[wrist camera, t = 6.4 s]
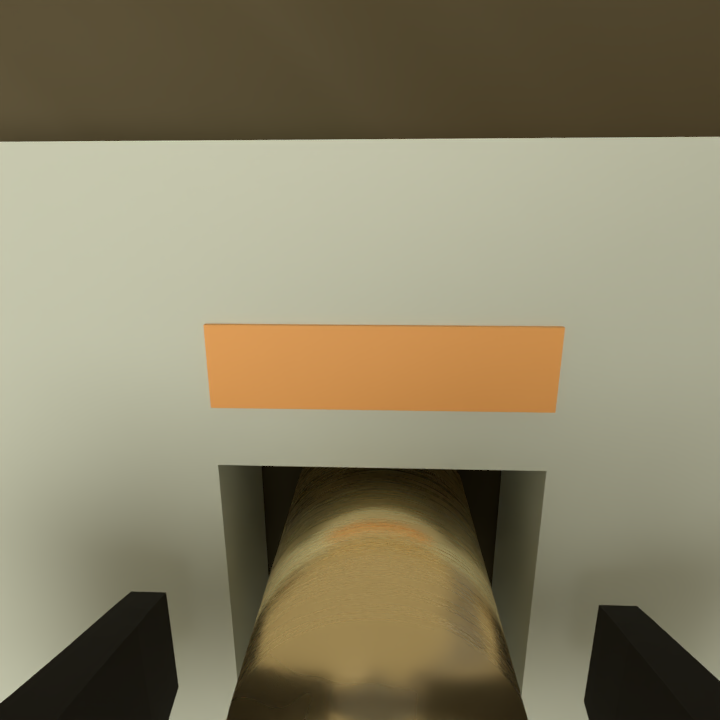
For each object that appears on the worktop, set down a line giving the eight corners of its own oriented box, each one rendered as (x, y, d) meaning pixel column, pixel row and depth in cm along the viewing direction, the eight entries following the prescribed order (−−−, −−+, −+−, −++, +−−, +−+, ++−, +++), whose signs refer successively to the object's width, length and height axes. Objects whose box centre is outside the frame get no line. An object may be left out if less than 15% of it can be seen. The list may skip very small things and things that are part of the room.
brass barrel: (473, 429, 12) (555, 639, 6) (454, 576, 13) (509, 866, 7) (298, 417, 12) (221, 613, 6) (294, 565, 13) (227, 841, 8)
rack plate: (805, 152, 10) (981, 134, 7) (665, 769, 15) (736, 913, 12) (-13, 157, 11) (-165, 142, 8) (102, 745, 15) (34, 876, 12)
